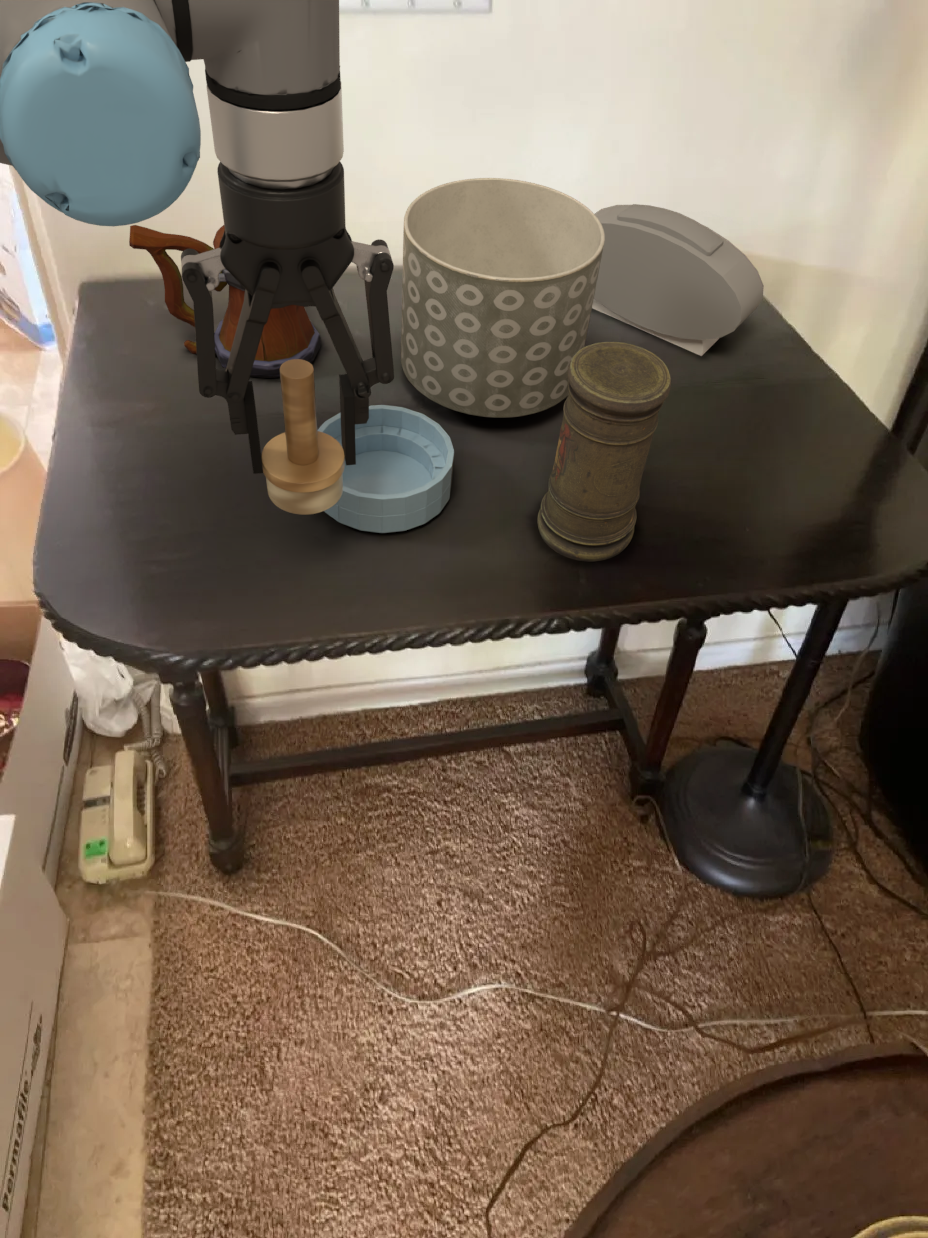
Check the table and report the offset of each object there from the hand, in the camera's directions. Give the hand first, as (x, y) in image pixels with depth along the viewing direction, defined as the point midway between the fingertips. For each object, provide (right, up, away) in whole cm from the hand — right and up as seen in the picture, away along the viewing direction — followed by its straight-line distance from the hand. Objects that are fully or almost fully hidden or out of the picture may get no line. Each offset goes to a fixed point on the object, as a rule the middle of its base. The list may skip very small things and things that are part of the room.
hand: (303, 457), depth 75 cm
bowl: (+5, 0, +18) cm, 18 cm away
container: (+24, -4, +16) cm, 29 cm away
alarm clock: (+34, +23, +40) cm, 58 cm away
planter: (+15, +13, +30) cm, 36 cm away
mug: (-12, +16, +30) cm, 37 cm away
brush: (0, -2, +3) cm, 3 cm away
